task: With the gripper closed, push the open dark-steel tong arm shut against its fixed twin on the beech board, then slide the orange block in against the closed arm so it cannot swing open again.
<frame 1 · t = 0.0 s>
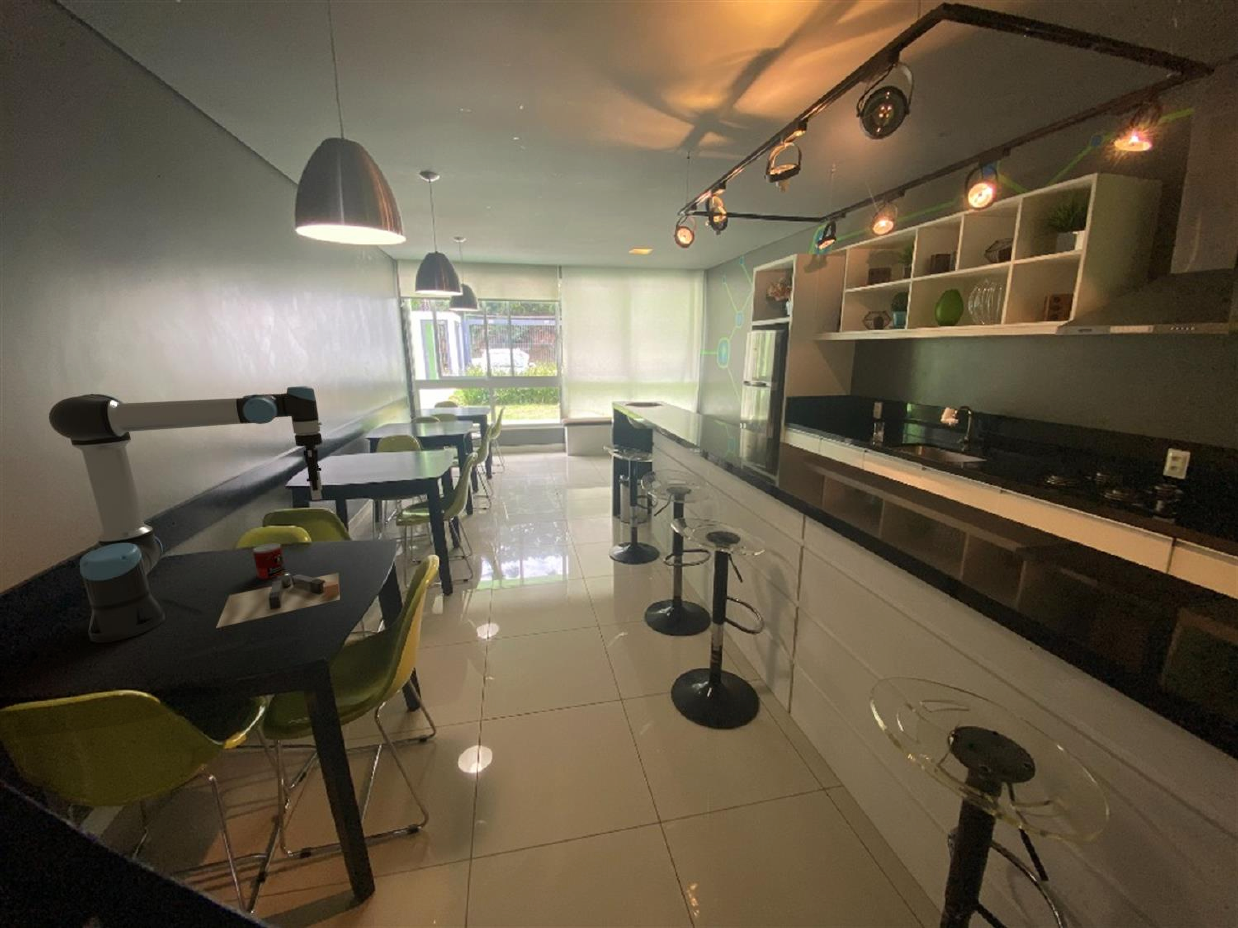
hand: (317, 494, 167), 28 cm above the table, fingers open, 13 cm apart
board: (284, 600, 151), on the table
tongs fixed: (286, 585, 159), resting on board
canned food: (272, 577, 168), on the table
tong arm: (308, 583, 156), point 3 cm above the table, hinge at 35.0°
orange block: (331, 588, 153), point 3 cm above the table, slide at 0.0 cm, touching board
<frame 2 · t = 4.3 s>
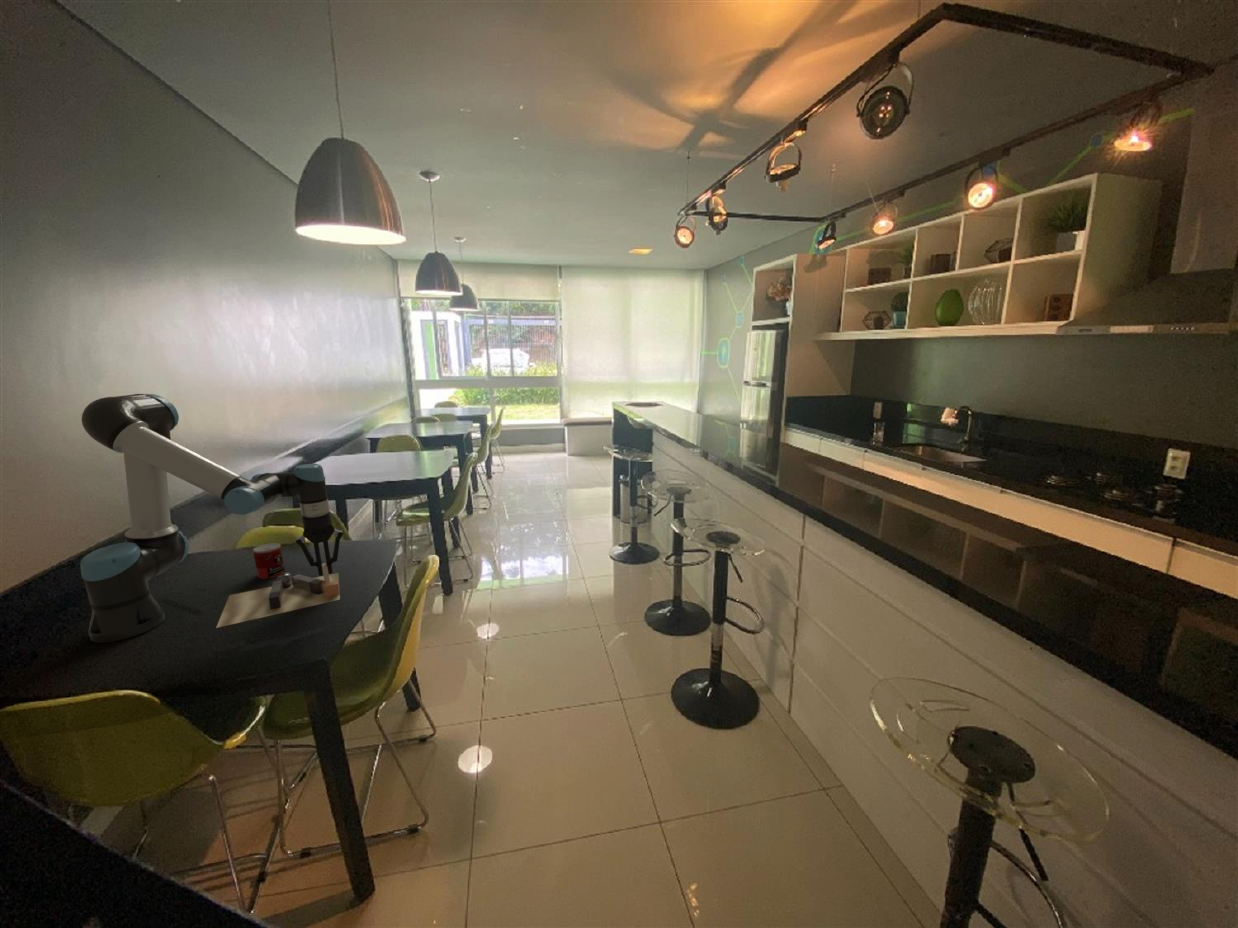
hand: (327, 583, 156), 3 cm above the table, fingers closed
tong arm: (308, 584, 156), point 3 cm above the table, hinge at 34.4°, touching gripper
everything else where it was.
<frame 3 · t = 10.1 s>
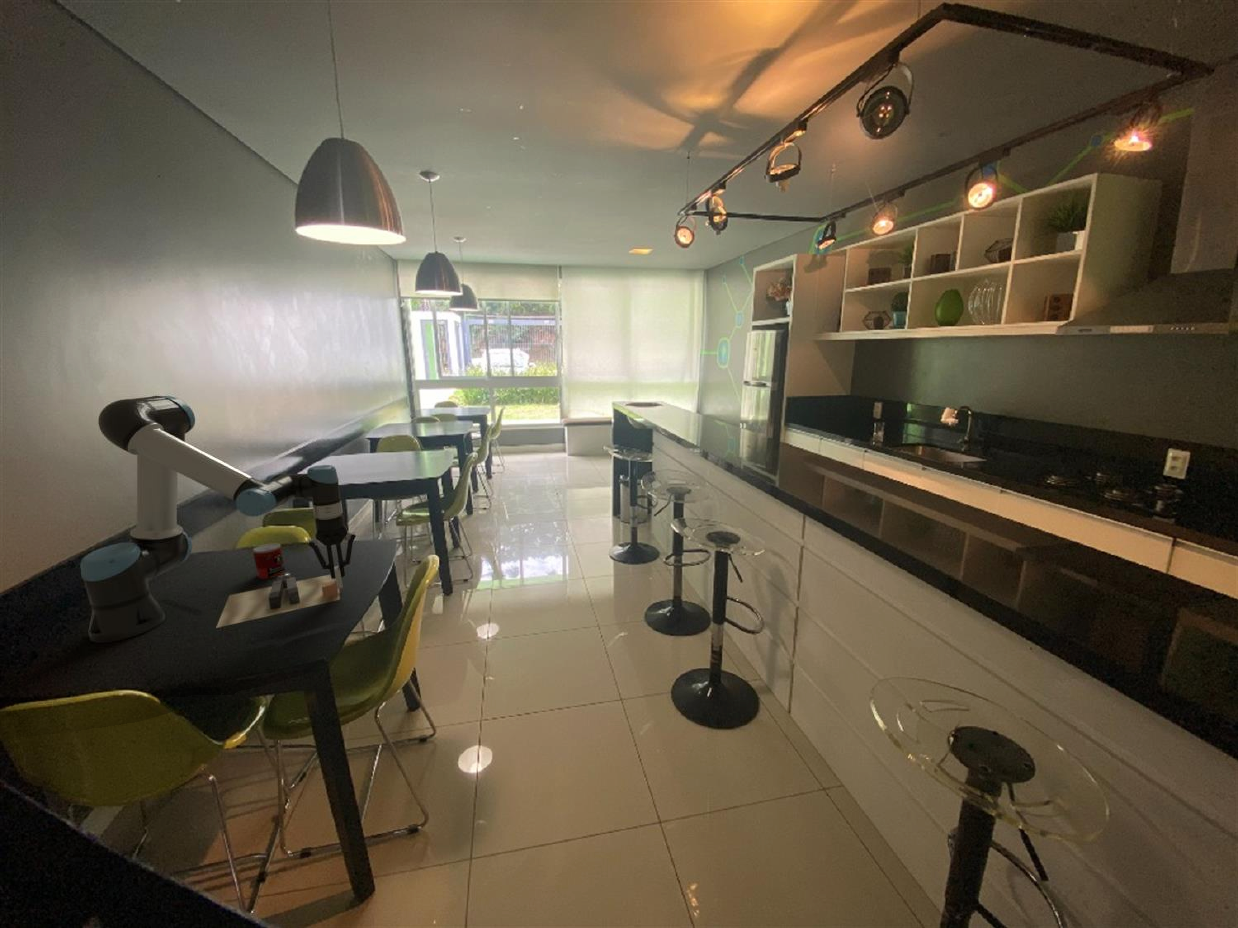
hand: (339, 586, 154), 3 cm above the table, fingers closed
tong arm: (292, 590, 152), point 3 cm above the table, hinge at 6.0°
orange block: (329, 588, 152), point 3 cm above the table, slide at 0.4 cm, touching board, gripper
everything else where it was.
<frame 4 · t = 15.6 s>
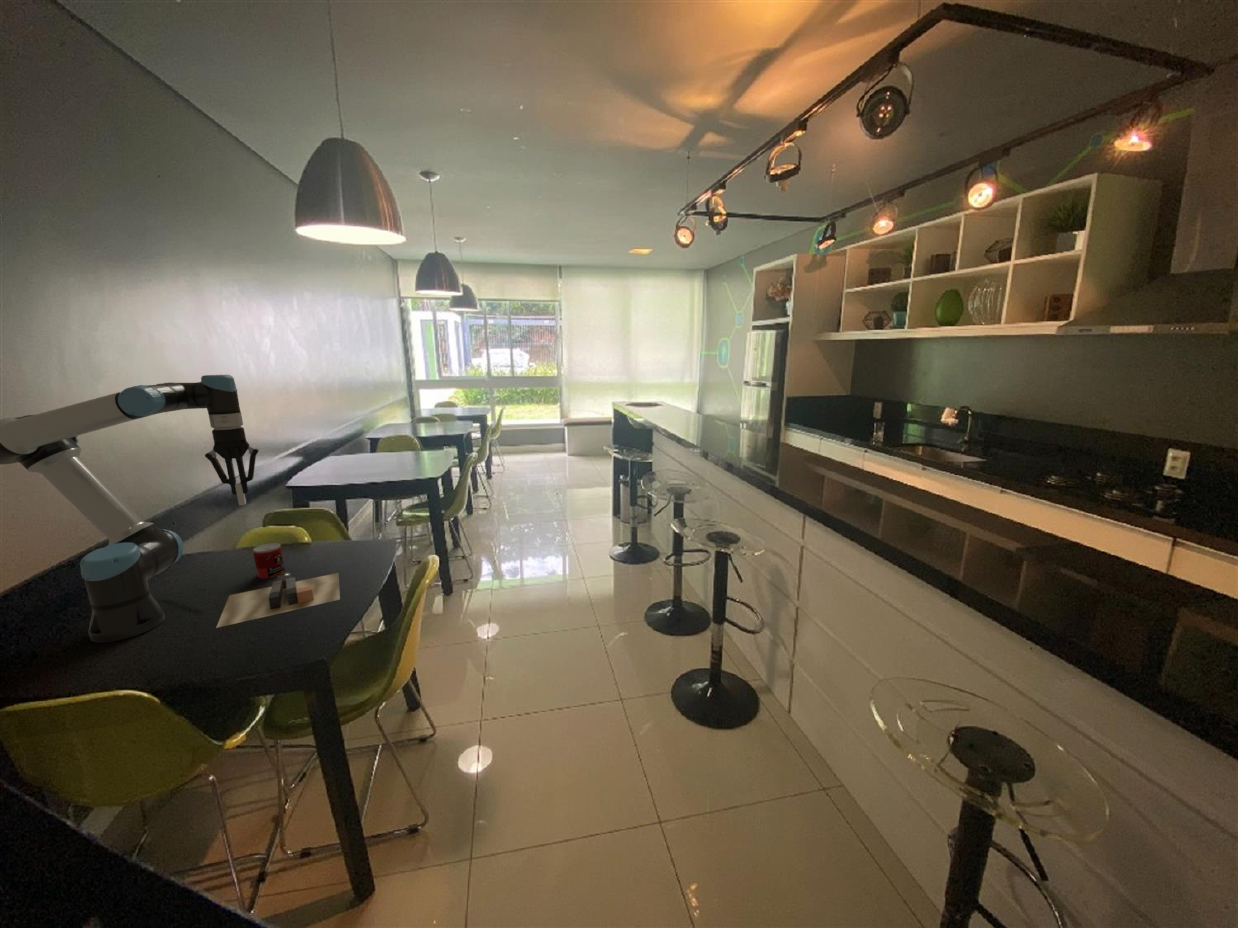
hand: (242, 503, 149), 30 cm above the table, fingers closed
tong arm: (292, 590, 152), point 3 cm above the table, hinge at 4.5°
orange block: (305, 594, 149), point 3 cm above the table, slide at 6.9 cm, touching board
everything else where it was.
at the end: tong arm at +4° (first picture: +35°); orange block slide at 6.9 cm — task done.
